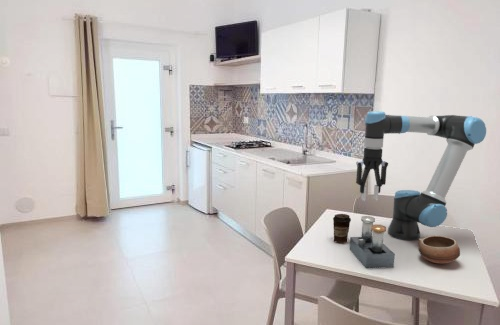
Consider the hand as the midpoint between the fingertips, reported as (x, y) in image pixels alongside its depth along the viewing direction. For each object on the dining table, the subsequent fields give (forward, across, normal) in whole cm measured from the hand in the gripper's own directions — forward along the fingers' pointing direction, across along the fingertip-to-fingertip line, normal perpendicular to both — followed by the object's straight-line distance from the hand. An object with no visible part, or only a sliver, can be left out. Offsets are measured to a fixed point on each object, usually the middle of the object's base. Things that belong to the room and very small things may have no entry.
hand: (369, 200), depth 166 cm
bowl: (+25, -28, +10) cm, 39 cm away
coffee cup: (+25, +7, -14) cm, 29 cm away
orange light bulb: (+19, 0, +11) cm, 22 cm away
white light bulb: (+19, 0, 0) cm, 19 cm away
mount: (+25, 0, +6) cm, 25 cm away
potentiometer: (+19, +4, +6) cm, 20 cm away
